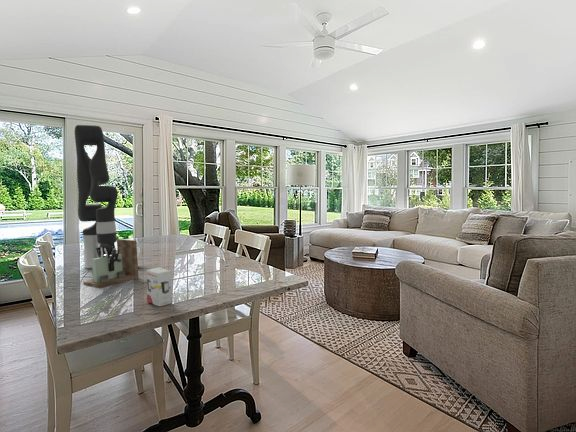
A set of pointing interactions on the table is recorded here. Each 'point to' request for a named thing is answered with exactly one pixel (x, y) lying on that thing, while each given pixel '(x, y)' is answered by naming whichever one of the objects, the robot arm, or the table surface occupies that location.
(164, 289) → the ink box
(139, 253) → the lightbulb
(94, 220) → the robot arm
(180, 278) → the table surface
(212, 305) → the table surface
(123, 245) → the wooden l-shaped stand
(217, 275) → the table surface
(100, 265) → the door
